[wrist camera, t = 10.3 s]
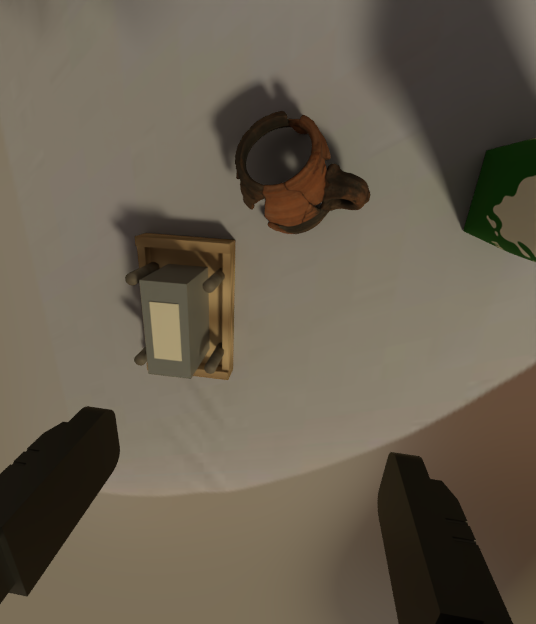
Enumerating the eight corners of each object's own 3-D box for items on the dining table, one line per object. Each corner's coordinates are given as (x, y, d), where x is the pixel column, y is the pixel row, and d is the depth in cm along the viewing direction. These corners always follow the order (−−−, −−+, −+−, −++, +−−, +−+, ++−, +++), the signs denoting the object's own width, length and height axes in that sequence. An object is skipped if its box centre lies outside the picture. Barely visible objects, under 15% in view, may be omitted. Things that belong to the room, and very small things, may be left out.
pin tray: (146, 233, 36) (115, 242, 31) (235, 240, 35) (220, 250, 30) (156, 359, 42) (132, 386, 37) (233, 369, 41) (220, 398, 36)
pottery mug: (247, 234, 35) (213, 199, 28) (270, 152, 36) (242, 95, 28) (360, 253, 32) (357, 218, 24) (383, 160, 32) (387, 96, 24)
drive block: (168, 263, 36) (138, 280, 30) (208, 267, 36) (186, 284, 30) (173, 344, 40) (148, 374, 34) (209, 348, 39) (190, 379, 33)
